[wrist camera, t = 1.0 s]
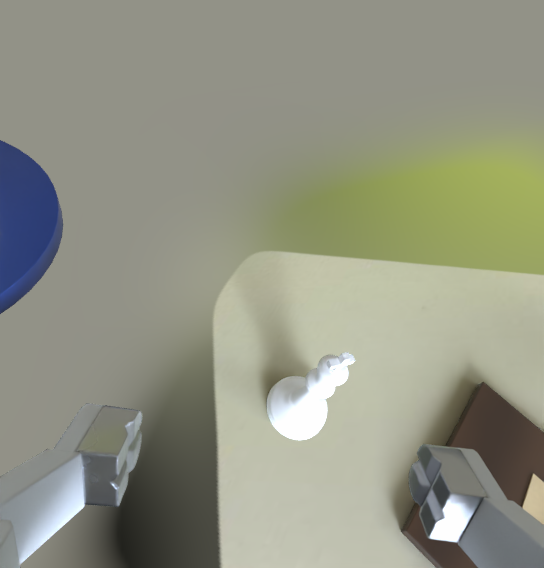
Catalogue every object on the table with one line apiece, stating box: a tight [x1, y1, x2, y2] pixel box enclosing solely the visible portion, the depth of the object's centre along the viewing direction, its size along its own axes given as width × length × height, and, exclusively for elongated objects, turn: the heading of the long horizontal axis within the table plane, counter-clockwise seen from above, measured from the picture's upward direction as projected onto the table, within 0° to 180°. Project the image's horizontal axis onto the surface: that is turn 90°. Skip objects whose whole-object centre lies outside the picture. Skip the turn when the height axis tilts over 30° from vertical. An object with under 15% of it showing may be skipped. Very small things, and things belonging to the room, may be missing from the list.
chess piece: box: [267, 352, 355, 440], centre depth 26 cm, size 5×5×10 cm
